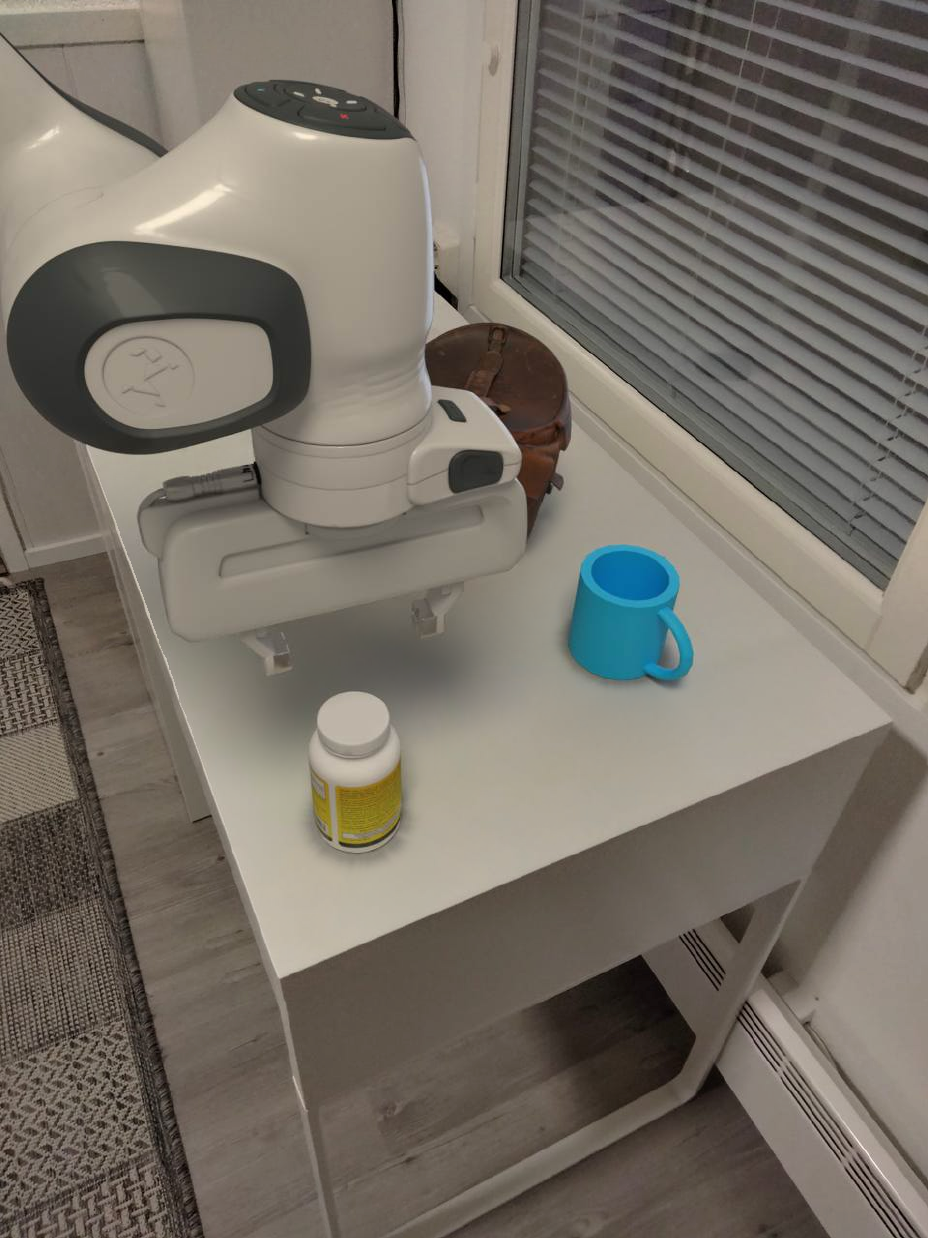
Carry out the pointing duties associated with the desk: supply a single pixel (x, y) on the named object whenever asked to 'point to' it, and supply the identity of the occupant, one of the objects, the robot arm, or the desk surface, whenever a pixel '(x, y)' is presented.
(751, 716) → the desk surface
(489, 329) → the case
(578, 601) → the mug
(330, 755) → the pill bottle
